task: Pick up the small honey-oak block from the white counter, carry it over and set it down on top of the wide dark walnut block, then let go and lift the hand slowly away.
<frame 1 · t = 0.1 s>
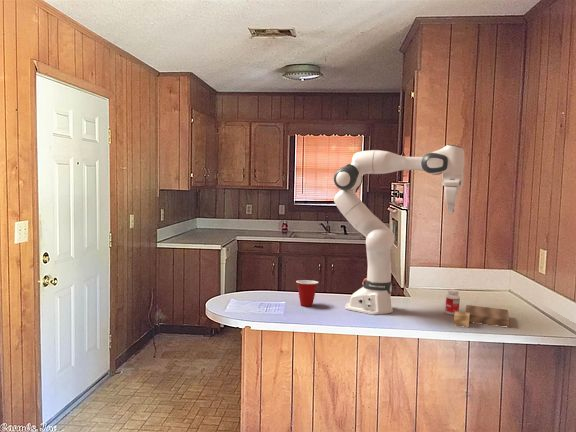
hand: (451, 213, 216), 48 cm above the countertop, tool pointing down, fingers open, 8 cm apart
pill bottle: (451, 313, 229), on the countertop
oak block: (461, 325, 212), on the countertop
walnut block: (486, 320, 221), on the countertop
plastic cup: (306, 305, 236), on the countertop
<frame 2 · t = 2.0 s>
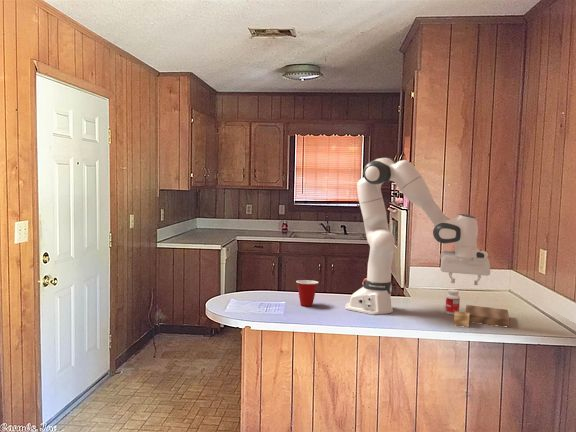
hand: (464, 283, 210), 18 cm above the countertop, tool pointing down, fingers open, 8 cm apart
nothing on the countertop moved.
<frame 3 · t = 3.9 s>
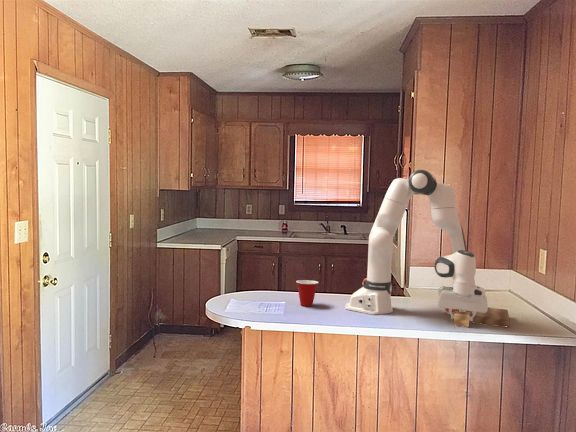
hand: (461, 319, 212), 2 cm above the countertop, tool pointing down, fingers closed on oak block, 6 cm apart
oak block: (461, 324, 212), on the countertop, touching gripper
everything else where it was.
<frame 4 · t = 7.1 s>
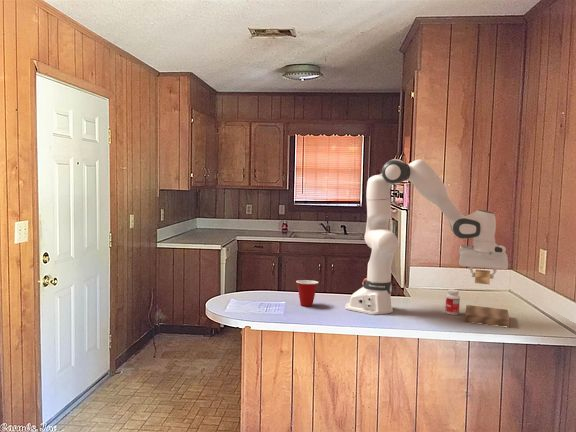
hand: (482, 277, 216), 20 cm above the countertop, tool pointing down, fingers closed on oak block, 6 cm apart
oak block: (482, 282, 216), point 18 cm above the countertop, touching gripper
everything else where it was.
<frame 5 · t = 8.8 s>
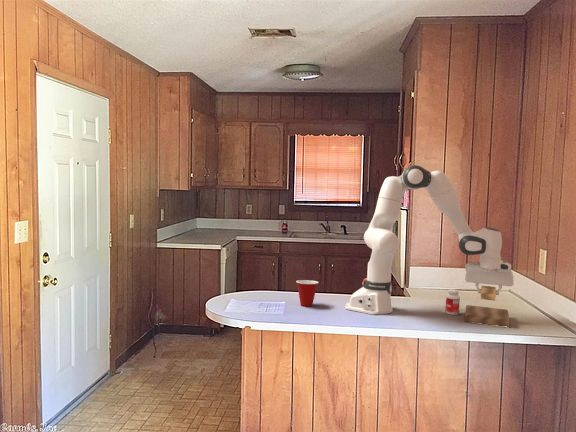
hand: (488, 293, 220), 12 cm above the countertop, tool pointing down, fingers closed on oak block, 6 cm apart
oak block: (487, 298, 220), point 10 cm above the countertop, touching gripper
everything else where it was.
when the fingers open (8 cm above the countertop, at t = 10.5 s): oak block drops 2 cm, resting on walnut block.
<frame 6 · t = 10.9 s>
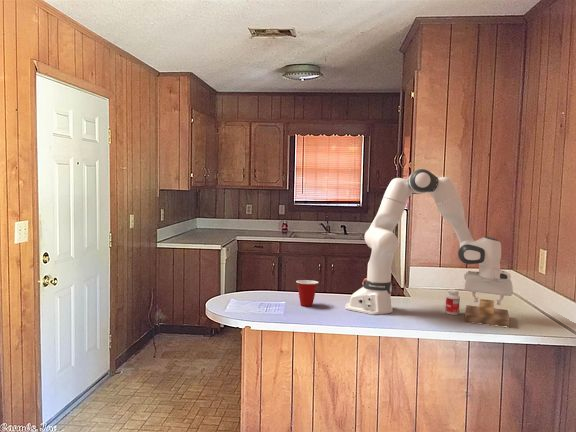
hand: (487, 303, 220), 8 cm above the countertop, tool pointing down, fingers open, 8 cm apart
oak block: (486, 312, 221), point 3 cm above the countertop, touching walnut block
walnut block: (486, 320, 221), on the countertop, touching oak block
everything else where it was.
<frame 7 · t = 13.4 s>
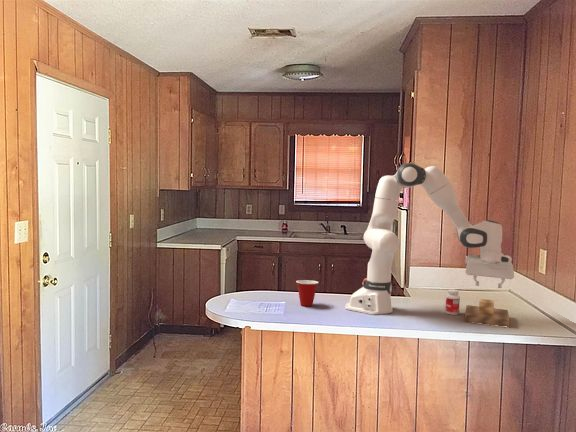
hand: (488, 286, 220), 15 cm above the countertop, tool pointing down, fingers open, 8 cm apart
nothing on the countertop moved.
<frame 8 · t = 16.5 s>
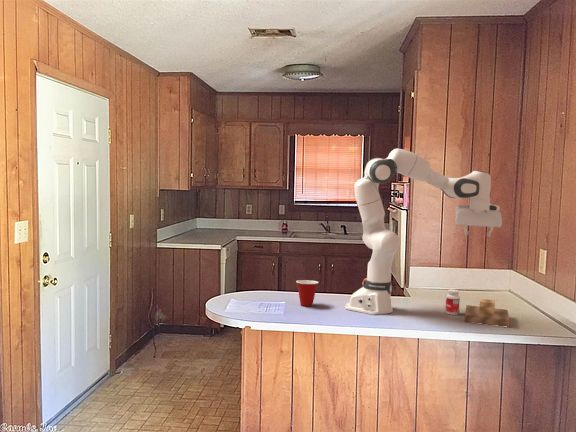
hand: (477, 235, 227), 37 cm above the countertop, tool pointing down, fingers open, 8 cm apart
nothing on the countertop moved.
at the end: oak block inside the target area on the walnut block (0.5 cm from its centre), point 4.0 cm above the walnut block's base; oak block tilted 0°; oak block touching walnut block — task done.
